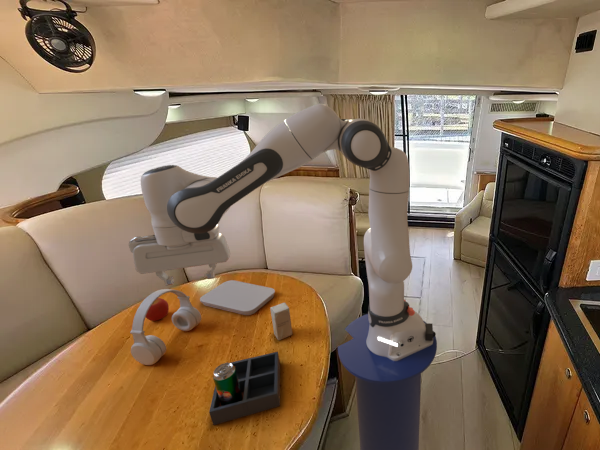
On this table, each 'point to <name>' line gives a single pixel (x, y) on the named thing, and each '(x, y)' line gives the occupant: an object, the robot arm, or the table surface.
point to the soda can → (227, 384)
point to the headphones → (151, 346)
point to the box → (281, 321)
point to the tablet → (238, 297)
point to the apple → (157, 310)
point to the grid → (251, 388)
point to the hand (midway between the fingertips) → (191, 280)
